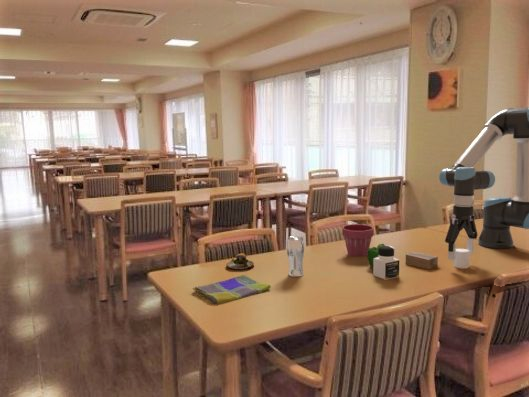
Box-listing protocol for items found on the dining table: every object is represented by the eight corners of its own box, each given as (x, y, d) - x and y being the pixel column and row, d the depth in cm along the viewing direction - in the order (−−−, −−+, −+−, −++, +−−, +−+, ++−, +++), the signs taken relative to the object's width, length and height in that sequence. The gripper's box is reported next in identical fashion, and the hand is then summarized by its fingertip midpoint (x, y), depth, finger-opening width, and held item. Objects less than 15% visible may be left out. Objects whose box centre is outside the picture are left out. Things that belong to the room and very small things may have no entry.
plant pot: (368, 259, 201) (368, 231, 199) (337, 256, 208) (337, 229, 206) (377, 252, 213) (377, 225, 211) (348, 249, 220) (348, 223, 218)
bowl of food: (220, 268, 196) (220, 251, 195) (240, 262, 204) (240, 245, 203) (240, 273, 188) (239, 256, 186) (259, 266, 196) (259, 250, 195)
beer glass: (306, 272, 185) (305, 236, 183) (302, 277, 179) (301, 240, 177) (290, 271, 188) (289, 235, 185) (285, 276, 181) (284, 239, 179)
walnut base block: (414, 260, 198) (415, 251, 197) (437, 266, 189) (437, 256, 188) (405, 263, 194) (405, 254, 193) (428, 269, 185) (428, 259, 184)
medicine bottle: (385, 280, 173) (385, 249, 171) (372, 275, 179) (373, 245, 178) (399, 277, 176) (400, 247, 175) (386, 272, 183) (387, 243, 181)
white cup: (472, 269, 184) (472, 252, 183) (454, 268, 185) (454, 251, 184) (468, 264, 190) (468, 248, 189) (450, 263, 192) (451, 247, 191)
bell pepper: (366, 269, 188) (366, 245, 186) (368, 263, 195) (368, 241, 194) (387, 270, 185) (387, 246, 183) (388, 265, 192) (389, 242, 191)
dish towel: (272, 291, 166) (272, 284, 165) (213, 307, 153) (212, 299, 152) (247, 279, 180) (247, 272, 180) (191, 292, 167) (190, 285, 167)
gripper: (470, 201, 194) (468, 249, 197) (437, 207, 180) (435, 259, 182) (488, 203, 188) (485, 253, 191) (454, 209, 174) (452, 263, 176)
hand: (460, 256), depth 187 cm, fingers open, 13 cm apart
